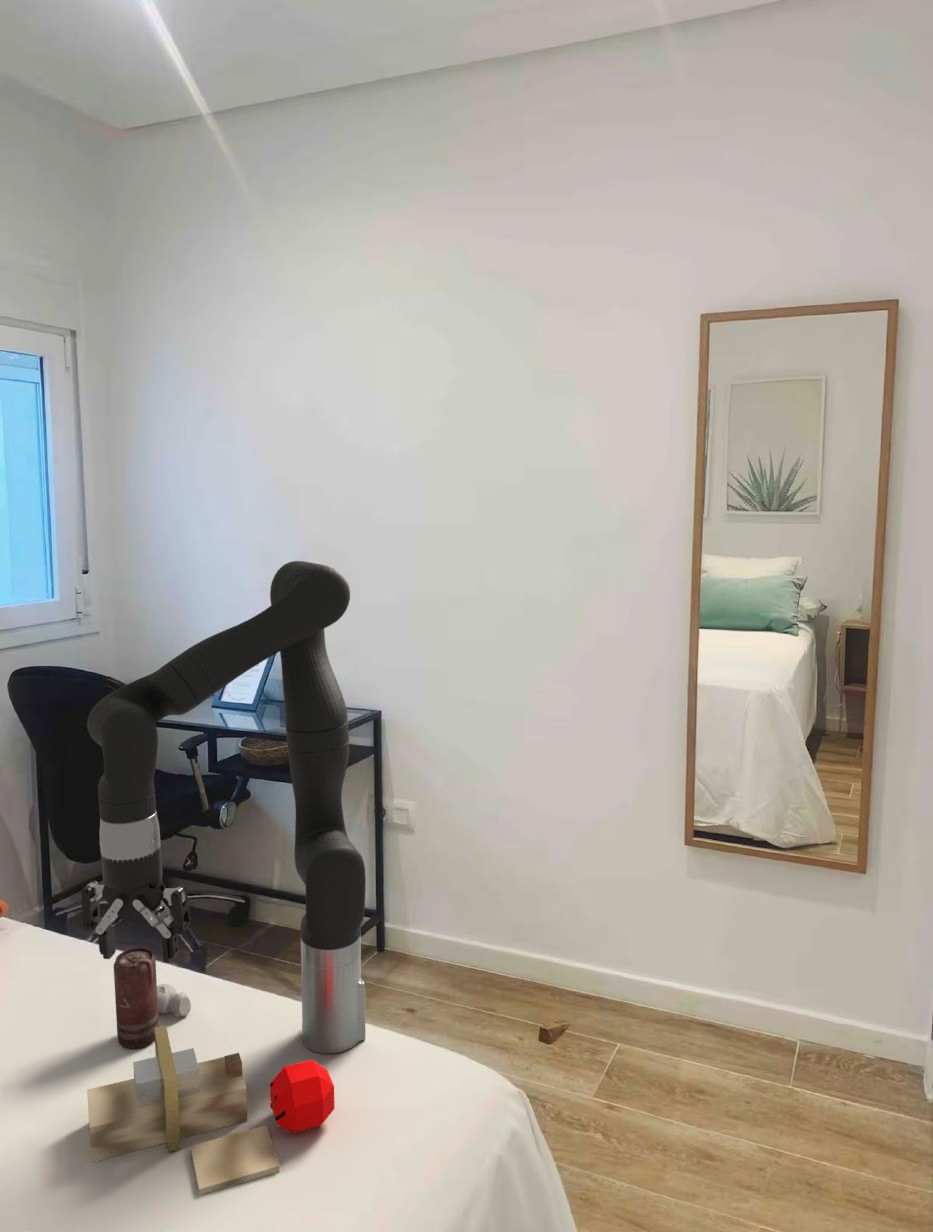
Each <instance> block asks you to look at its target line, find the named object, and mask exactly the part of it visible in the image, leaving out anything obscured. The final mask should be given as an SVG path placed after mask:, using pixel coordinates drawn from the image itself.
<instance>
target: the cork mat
mask: <svg viewBox="0 0 933 1232" xmlns="http://www.w3.org/2000/svg"><path fill="white" fill-rule="evenodd" d="M189 1147H190V1156H191V1161H192V1165H193V1166H192V1167H193V1170H194V1175H195V1180H196V1184H197V1190H198V1195H200V1196H201V1195H204V1194H208V1193H211V1192H214V1191H216V1190H220V1189H224V1188H227V1187H231V1186H235V1185H237V1184H240V1183H244V1182H248V1181H251V1180H255V1179H257V1178H261V1177H262V1178H263V1177H265V1176H269V1175H272V1174H275V1173H278V1172H281V1171H280V1170H281V1169H280V1167H281V1166H280V1163H279V1159H278V1157H277V1154H276V1150H275V1148H274V1145H273V1142H272V1139H271V1136H270V1133H269V1130H268V1126H267V1125H263V1126H260V1127H256V1128H252V1129H248V1130H245V1131H241V1132H237V1133H233V1134H230V1135H226V1136H223V1137H218V1138H216V1139H212V1140H209V1141H205V1142H201V1143H196V1144H193V1145H190V1146H189Z"/></svg>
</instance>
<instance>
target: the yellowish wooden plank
mask: <svg viewBox="0 0 933 1232" xmlns="http://www.w3.org/2000/svg"><path fill="white" fill-rule="evenodd" d="M154 1033H155V1041H154V1046H155V1047H154V1049H155V1057H157V1056H158V1058H159V1064H160V1069H161V1074H162V1080H163V1085H164V1105H165V1127H166V1142H165V1143H166V1144H165V1145H166V1151H167V1153H169V1152H172V1151H177V1150H180V1149H181V1138H180V1129H179V1106H178V1084H177V1075H176V1070H175V1065H174V1061H173V1056H172V1053H173V1052H172V1048H171V1047H172V1046H171V1042H170V1037H169V1032H168V1028H167V1025H162V1026H159V1027H156V1028H154Z"/></svg>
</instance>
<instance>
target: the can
mask: <svg viewBox="0 0 933 1232" xmlns="http://www.w3.org/2000/svg"><path fill="white" fill-rule="evenodd" d="M156 962H157V960H156V957H155V955H154V954H153V951H151V950H150V949H148V948H145V947H136V948H131V949H127V950H125V951H122V952H121V953H119V954H118V955H117V956H116V958H115V961H114V963H113V979H114V997H115V1017H116V1018H115V1019H116V1032H117V1034H116V1035H117V1042H118V1044H119V1045H120V1046H121V1047H122V1048H124V1049H126V1050H133V1051H134V1050H139V1049H140V1050H141V1049H144V1048H146V1047H149V1046H150V1045H152V1044H153V1043H155V1033H154V1028H156V1027H160V1026H159V1024H160V1023H159V1013H158V1002H157V986H158V983H157V967H156V966H157V963H156Z"/></svg>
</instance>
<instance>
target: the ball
mask: <svg viewBox="0 0 933 1232" xmlns="http://www.w3.org/2000/svg"><path fill="white" fill-rule="evenodd" d="M334 1085H335V1084H334V1082H333V1080H332V1078H331V1075H330V1073H329V1071H328V1069H327V1068H325V1067H324V1066H322V1065H321V1064H319V1063H318V1062H317V1061H315V1060H314V1059H309V1060H304V1061H300V1062H297V1063H292V1064H288V1065H284V1066H283V1068H281V1070H280V1071H279V1072H278V1073H277V1075H275V1077H274V1078H273V1079H272V1080H271V1082H270V1083H269V1095H270V1096H269V1099H270V1104H269V1105H270V1109H271V1111H272V1114H273V1116H274V1119H275V1124H276V1125H277V1126H279V1127H280V1128H282V1129H283V1130H285V1131H286V1132H288V1133H290V1134H292V1135H293V1134H296V1133H300V1132H304V1131H308V1130H312V1129H315V1128H319V1127H321V1126H322V1125H323V1124H324V1122H325V1121H326V1120H327V1119H328V1117H329V1116H330V1115H331V1114H332V1112H333V1111H334V1110H335V1086H334Z"/></svg>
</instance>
